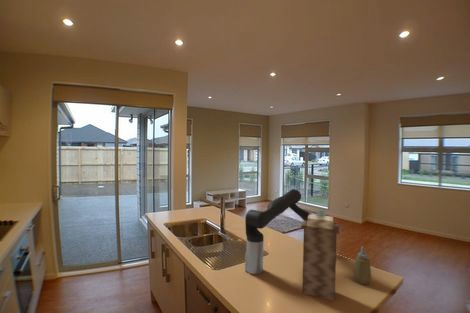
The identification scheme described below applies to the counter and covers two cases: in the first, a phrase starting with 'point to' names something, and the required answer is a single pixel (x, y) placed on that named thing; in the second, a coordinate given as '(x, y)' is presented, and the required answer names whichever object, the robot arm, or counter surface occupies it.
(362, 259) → the squeeze bottle
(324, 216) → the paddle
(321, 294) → the stand
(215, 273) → the counter surface
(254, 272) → the robot arm
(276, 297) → the counter surface
